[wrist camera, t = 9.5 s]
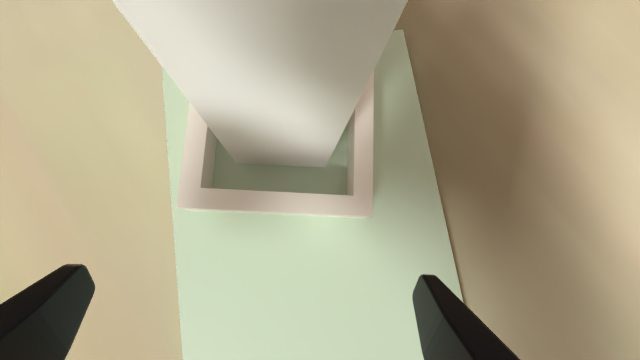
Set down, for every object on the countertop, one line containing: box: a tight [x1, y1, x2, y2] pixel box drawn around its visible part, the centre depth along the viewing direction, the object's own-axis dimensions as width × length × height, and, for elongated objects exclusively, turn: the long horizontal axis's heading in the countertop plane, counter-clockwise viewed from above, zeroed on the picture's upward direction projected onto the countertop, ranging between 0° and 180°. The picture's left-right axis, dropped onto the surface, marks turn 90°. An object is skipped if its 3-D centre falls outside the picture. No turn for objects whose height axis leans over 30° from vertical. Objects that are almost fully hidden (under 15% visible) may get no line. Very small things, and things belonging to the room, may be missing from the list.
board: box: [161, 29, 463, 360], centre depth 18 cm, size 20×15×1 cm
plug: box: [112, 0, 408, 168], centre depth 11 cm, size 5×5×13 cm
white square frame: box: [176, 71, 374, 219], centre depth 17 cm, size 10×10×2 cm
